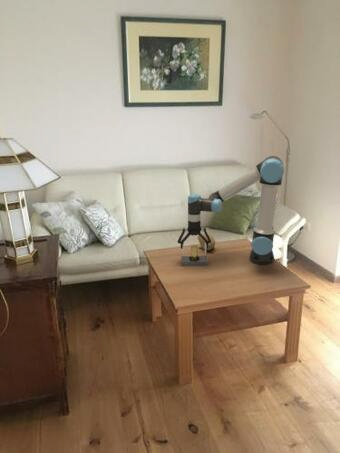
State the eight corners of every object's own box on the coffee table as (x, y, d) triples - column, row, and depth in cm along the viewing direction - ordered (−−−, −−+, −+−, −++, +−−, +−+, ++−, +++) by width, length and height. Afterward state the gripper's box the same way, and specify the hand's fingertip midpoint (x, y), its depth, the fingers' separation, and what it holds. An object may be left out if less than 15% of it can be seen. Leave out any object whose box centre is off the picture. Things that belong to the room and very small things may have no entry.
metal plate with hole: (206, 259, 228) (206, 255, 227) (208, 265, 219) (208, 261, 219) (181, 259, 228) (181, 256, 227) (181, 265, 220) (181, 262, 219)
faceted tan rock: (200, 245, 252) (191, 242, 243) (208, 232, 250) (199, 228, 241) (215, 256, 243) (206, 254, 234) (224, 243, 241) (215, 239, 232)
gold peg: (197, 261, 226) (197, 244, 222) (198, 263, 222) (198, 247, 218) (190, 261, 226) (190, 244, 222) (191, 264, 222) (190, 247, 218)
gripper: (214, 217, 218) (214, 250, 225) (173, 218, 219) (174, 251, 226) (216, 221, 211) (215, 255, 218) (173, 222, 212) (174, 256, 218)
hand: (194, 253), depth 222 cm, fingers open, 13 cm apart
